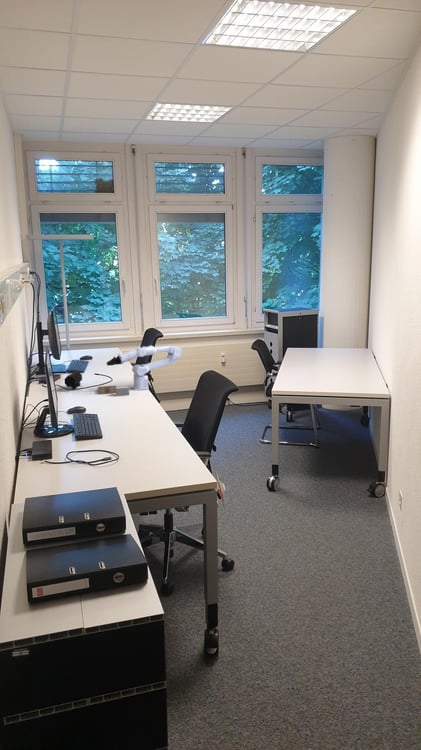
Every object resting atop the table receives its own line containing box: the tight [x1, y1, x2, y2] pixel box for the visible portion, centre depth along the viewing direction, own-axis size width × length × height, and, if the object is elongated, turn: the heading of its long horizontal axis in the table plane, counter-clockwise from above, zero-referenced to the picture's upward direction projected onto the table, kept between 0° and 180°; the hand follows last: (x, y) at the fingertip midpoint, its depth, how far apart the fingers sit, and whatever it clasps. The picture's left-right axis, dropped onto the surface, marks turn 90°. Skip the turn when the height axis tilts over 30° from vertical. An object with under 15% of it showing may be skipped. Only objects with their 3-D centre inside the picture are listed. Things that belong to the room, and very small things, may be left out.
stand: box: [97, 385, 118, 395], centre depth 358 cm, size 12×12×2 cm
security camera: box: [64, 371, 83, 390], centre depth 367 cm, size 7×18×10 cm, turn 174°
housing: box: [114, 386, 130, 397], centre depth 349 cm, size 8×4×5 cm, turn 106°
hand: (108, 364), depth 353 cm, fingers open, 7 cm apart
